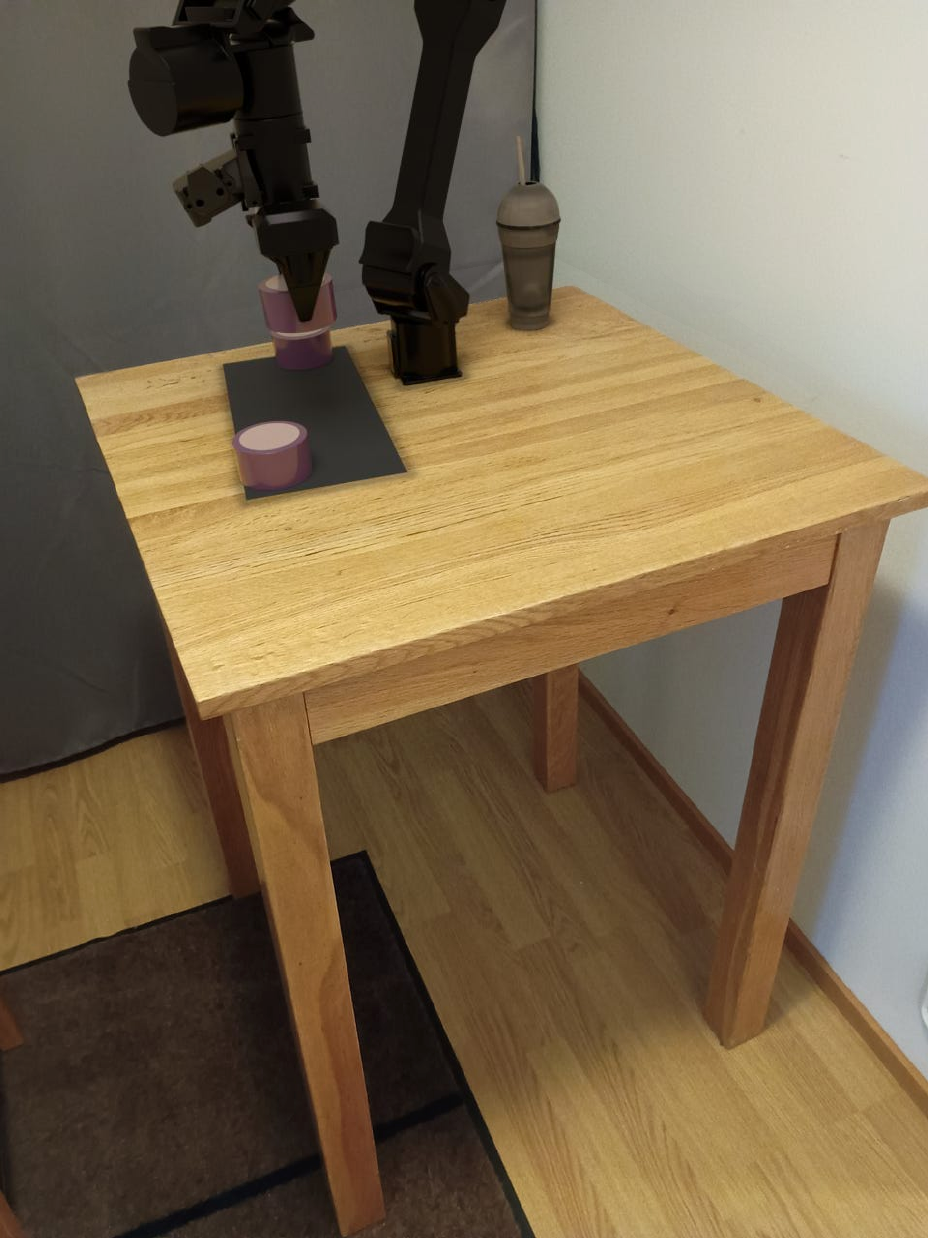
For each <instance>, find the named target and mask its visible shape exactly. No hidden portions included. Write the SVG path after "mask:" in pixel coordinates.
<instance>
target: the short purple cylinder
mask: <svg viewBox="0 0 928 1238" xmlns="http://www.w3.org/2000/svg"><path fill="white" fill-rule="evenodd" d="M331 331H332V330H331V325H329V326H327V327H324V328H322V329H318V330H314V331H310V332H303V333H279V332H275V331H272V330H270V338H271V343H272V349H273V354H274V356H275V360H276V364H277V366H279V367H280V368H283V369H286V370H309V369H314V368H318V367H321V366H324V365H326V364H328V363H330V362H331V361H332V360H333V358H334V352H333V339H332V333H331Z"/></svg>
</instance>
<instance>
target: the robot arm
mask: <svg viewBox="0 0 928 1238" xmlns="http://www.w3.org/2000/svg"><path fill="white" fill-rule="evenodd" d="M296 1H297V0H178V2H177V5H176V10H175V12H174V17H173V20H172V23H171V24H172V25H168V26H166V25H142V26H135V27H133V29H132V34H133V39H134V43H135V49H134V50H133V51H132V53H131V55H130V58H129V64H128V78H129V79H128V80H127V88H128V93H129V96H130V99H131V102H132V105H133V107H134V109H135V112H136V113H137V115H138V117H139V118H140V120H141V122H142V123H143V124H144V125H145V127H146V128H147V129H148V130H149V131H150V132H151V133H152V134H154V135H156V136H158V137H160V138H163V137H164V138H165V137H169V136H173V135H179V134H183V133H186V132H192V131H196V130H197V131H198V130H201V129H206V128H210V127H215V126H219V125H224V124H226V123H230V121H232V126H233V127H231V130H232V132H229V139H230V140H229V141H230V145H231V149H229V150H227V151H225V152H223V153H222V154H220V155H217V156H215V157H212V158H211V159H209V160H208V161H205V162H204V163H203V162H201V163H199V164H198V166H197V167H195V168H193V169H191V170H186V171H185V173H183V174H182V175H180V176H179V177H178V178H176V179H175V180H173V182H172V184H171V185H172V191H173V193H174V194H175V196H176V197H177V199H178V201H179V202H180V204H181V206H182V207H183V210H184V211H185V212H186V214H187V216H188V218H189V220H190V221H191V223H192V224H193V226H194V227H195V228H201V227H204V226H206V225H208V224H210V223H211V222H212V219H213V218H215V217H216V216H218V215H220V214H223V213H224V212H225V211H227V210H229V209H231V208H233V207H235V206H236V205H238V204H239V206H240V208H241V212H250V209H251V208H252V210H253V211H252V212H253V213H249V214H245V215H244V219H245V222H246V224H247V225H248V226H249V227H251V228H252V229H253V233H254V238H255V242H256V247H257V249H258V252H259V253H260V255H261V256H262V257H263V258H265V259H268V260H269V261H271V262H272V263H274V264H275V265H276V268H277V271H278V274H281V273H282V275H283V278H284V280H285V283H286V286H287V289H288V292H289V294H290V297H291V300H292V303H293V305H294V308H295V311H296V314H297V317H298V319H299V321H300V322H307V321H311V320H312V318H313V314H314V310H315V306H316V302H317V298H318V295H319V291H320V287H321V283H322V280H323V276H324V273H326V269H327V265H328V262H329V258H330V256H331V255H330V254H331V252H332V250H333V249H334V247H335V246H337V245H340V238H339V237H340V236H339V230H338V223H337V218H336V217H335V216H334V215H333V213H332V212H331V210H330V209H329V208H328V207H326V206H325V205H324V204H323V203H322V202H321V201H319V200H318V199H320V193H319V184H318V183H317V182H316V181H315V180H314V174H313V167H312V160H311V152H310V147H309V144H311V143H312V136H311V129H310V127H309V126H308V125H307V124H306V118H305V112H304V104H303V98H302V91H301V84H300V78H299V70H298V63H297V57H296V49H295V44H297V43H304V42H310V41H313V40H314V39H315V38H316V32H315V30H314V29H313V28H312V27H311V26H310V25H309V24H307V22H305V21H304V20H302V19H301V18H300V17H299V16H298V15H297V14H296V12H295V10H294V8H293V7H292V6H291V5H292V4H294V3H295V2H296ZM506 4H507V0H413V12H414V16H415V19H416V23H417V26H418V29H419V34H420V37H421V41H422V46H421V54H420V59H419V64H418V70H417V75H416V80H415V85H414V91H413V97H412V102H411V107H410V112H409V118H408V124H407V129H406V134H405V139H404V143H403V149H402V155H401V161H400V166H399V172H398V176H397V181H396V188H395V192H394V196H393V203H392V206H391V208H390V210H388V212H387V213H386V215H385V216H384V218H383V219H382V220H381V221H377V220H368V222H367V224H366V228H365V232H364V243H363V249H362V253H361V254H360V256H359V259H358V264H359V265H361V266H362V267H361V283H362V285H363V286H364V287H365V289H366V292H367V294H368V296H369V297H370V299H371V301H372V303H373V305H374V308H375V311H376V313H377V315H380V316H389V320H390V321H389V323H390V329H387V330H386V332H385V335H386V342H387V351H388V363H389V368H390V370H391V372H392V374H393V375H394V376H396V377H397V378H398V380H399V381H400V383H401V384H402V386H404V387H409V386H416V385H422V384H427V383H433V382H441V381H445V380H452V379H458V378H462V377H463V375H464V374H463V371H462V369H461V368H460V367H459V365H458V364H459V363H458V348H457V346H458V345H457V333H456V325H457V324H460V320H461V319H462V318H465V317H466V316H467V315H468V309H469V304H470V297H471V296H470V293H469V292H468V290H466V289H465V288H464V287H463V286H462V284H461V283H459V281H458V280H457V279H455V278H454V277H453V275H451V273H450V269H451V261H452V248H451V245H450V242H449V237H448V234H447V230H446V227H445V224H444V214H445V209H446V203H447V199H448V194H449V188H450V184H451V178H452V174H453V170H454V164H455V158H456V155H457V148H458V144H459V139H460V134H461V130H462V125H463V119H464V114H465V110H466V105H467V99H468V96H469V91H470V90H469V89H470V87H471V81H472V76H473V75H472V74H473V70H474V65H475V61H476V58H477V56H478V55H479V54H480V52H481V51H482V50H483V48H484V47H485V46H486V44H487V43H488V42H489V40H490V39H491V37H492V36H493V35H494V33H495V32H496V31H497V29H498V28H499V26H500V22H501V19H502V16H503V13H504V11H505V7H506Z"/></svg>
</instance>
